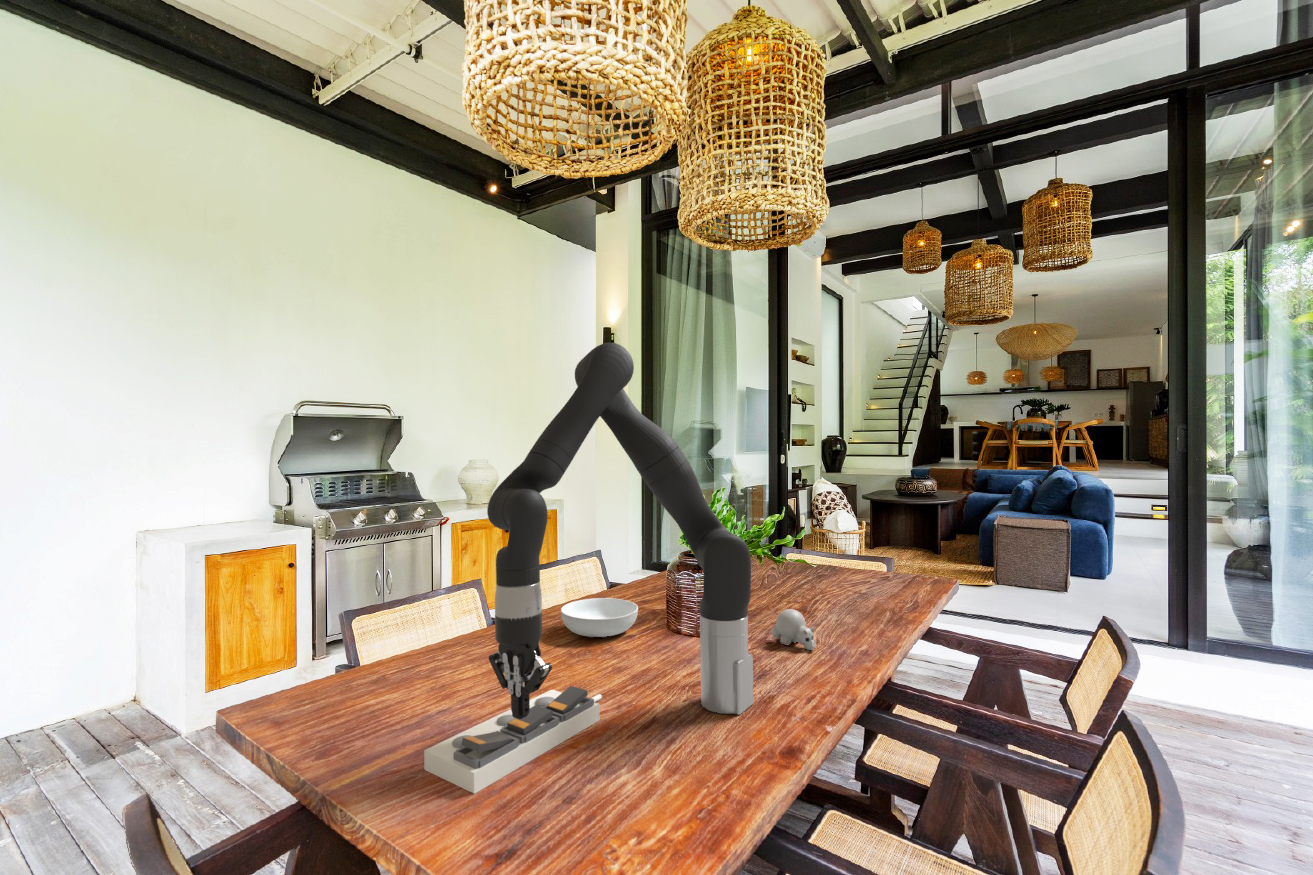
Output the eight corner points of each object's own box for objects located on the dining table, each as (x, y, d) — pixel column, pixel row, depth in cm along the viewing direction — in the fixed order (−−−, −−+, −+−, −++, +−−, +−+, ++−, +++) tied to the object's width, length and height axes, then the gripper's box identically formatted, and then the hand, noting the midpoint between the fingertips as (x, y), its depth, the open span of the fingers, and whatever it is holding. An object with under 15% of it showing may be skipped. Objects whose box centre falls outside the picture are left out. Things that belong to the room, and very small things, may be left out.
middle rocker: (536, 710, 104) (535, 704, 104) (552, 715, 102) (552, 709, 102) (507, 729, 99) (507, 722, 99) (524, 735, 96) (524, 728, 96)
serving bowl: (566, 649, 150) (565, 621, 150) (557, 625, 170) (556, 601, 170) (646, 640, 155) (646, 614, 155) (628, 618, 175) (628, 595, 175)
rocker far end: (493, 738, 96) (495, 731, 97) (510, 745, 94) (512, 737, 94) (461, 744, 91) (462, 737, 92) (478, 752, 89) (480, 744, 89)
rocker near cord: (571, 690, 111) (570, 684, 111) (587, 695, 109) (586, 689, 109) (547, 711, 106) (546, 705, 106) (564, 716, 104) (563, 710, 104)
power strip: (578, 691, 123) (578, 672, 123) (624, 705, 116) (624, 684, 116) (424, 769, 94) (424, 743, 94) (474, 793, 87) (474, 765, 87)
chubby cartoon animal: (799, 664, 144) (808, 635, 141) (766, 634, 153) (774, 605, 150) (819, 657, 148) (829, 629, 145) (786, 628, 157) (794, 600, 154)
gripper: (564, 610, 98) (566, 717, 97) (508, 599, 105) (510, 699, 105) (530, 621, 92) (532, 736, 91) (473, 610, 99) (475, 715, 99)
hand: (520, 716), depth 98 cm, fingers closed
